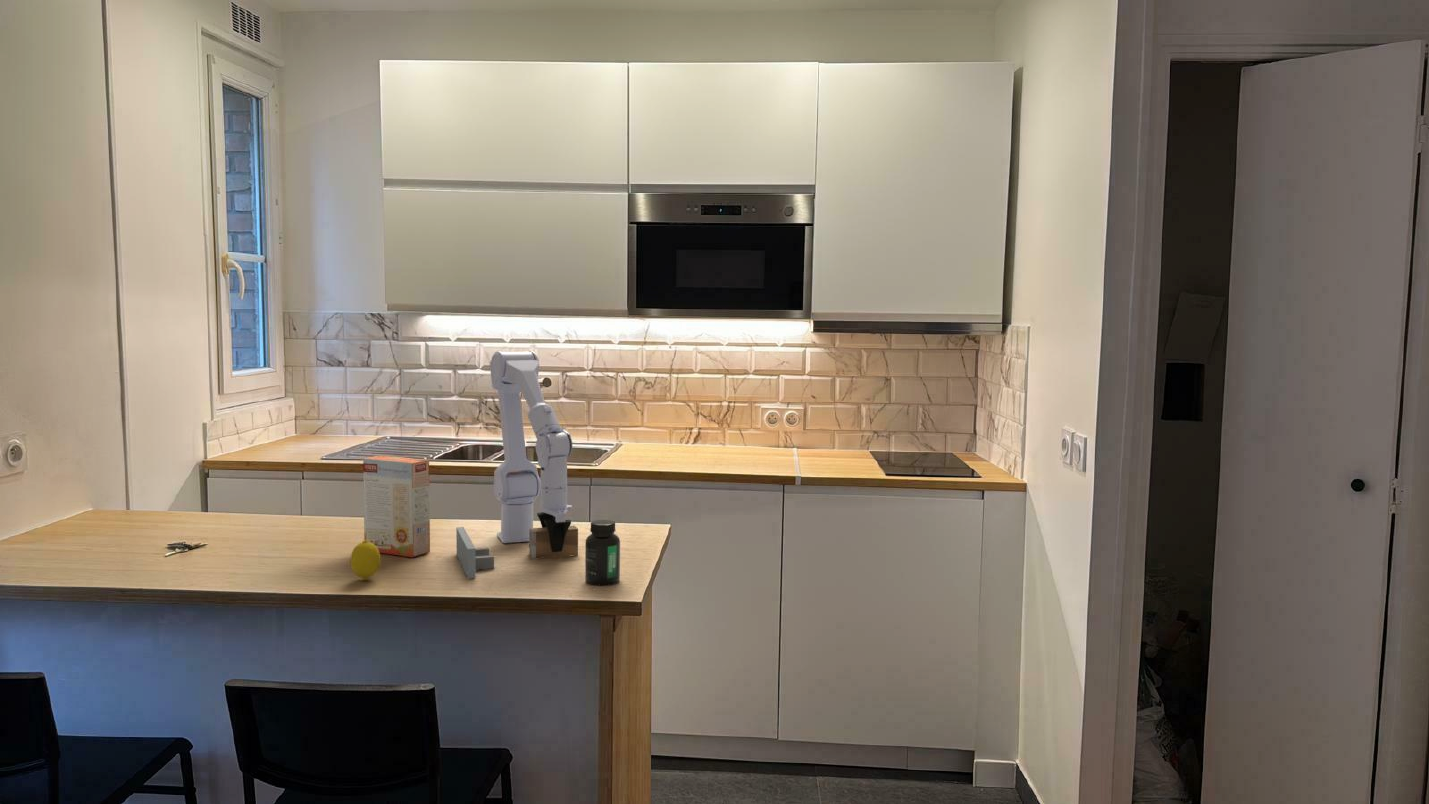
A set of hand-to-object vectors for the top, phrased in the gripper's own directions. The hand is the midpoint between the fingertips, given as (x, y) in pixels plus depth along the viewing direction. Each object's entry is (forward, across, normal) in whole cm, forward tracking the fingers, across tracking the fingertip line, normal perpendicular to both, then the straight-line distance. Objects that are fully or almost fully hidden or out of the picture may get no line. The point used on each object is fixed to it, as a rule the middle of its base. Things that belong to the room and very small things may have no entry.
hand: (553, 547), depth 207 cm
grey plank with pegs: (+2, -3, +16) cm, 16 cm away
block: (+2, 0, 0) cm, 2 cm away
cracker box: (+2, +13, +32) cm, 35 cm away
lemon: (+2, -8, +39) cm, 40 cm away
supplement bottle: (+2, -23, -5) cm, 24 cm away
